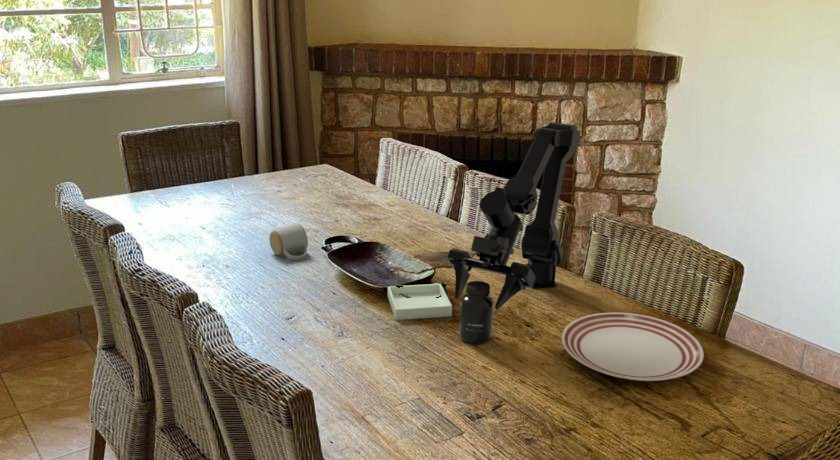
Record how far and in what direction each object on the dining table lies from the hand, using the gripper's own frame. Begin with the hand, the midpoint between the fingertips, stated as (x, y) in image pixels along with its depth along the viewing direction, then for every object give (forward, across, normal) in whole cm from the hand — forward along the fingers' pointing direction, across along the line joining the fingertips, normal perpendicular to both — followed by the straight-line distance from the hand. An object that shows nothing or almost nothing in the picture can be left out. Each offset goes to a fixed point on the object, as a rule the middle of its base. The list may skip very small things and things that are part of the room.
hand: (475, 303), depth 158 cm
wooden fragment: (-18, -28, +30) cm, 45 cm away
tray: (0, -18, +10) cm, 21 cm away
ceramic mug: (-6, -63, +17) cm, 66 cm away
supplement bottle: (+6, 0, +6) cm, 8 cm away
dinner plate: (-2, +30, +13) cm, 33 cm away
